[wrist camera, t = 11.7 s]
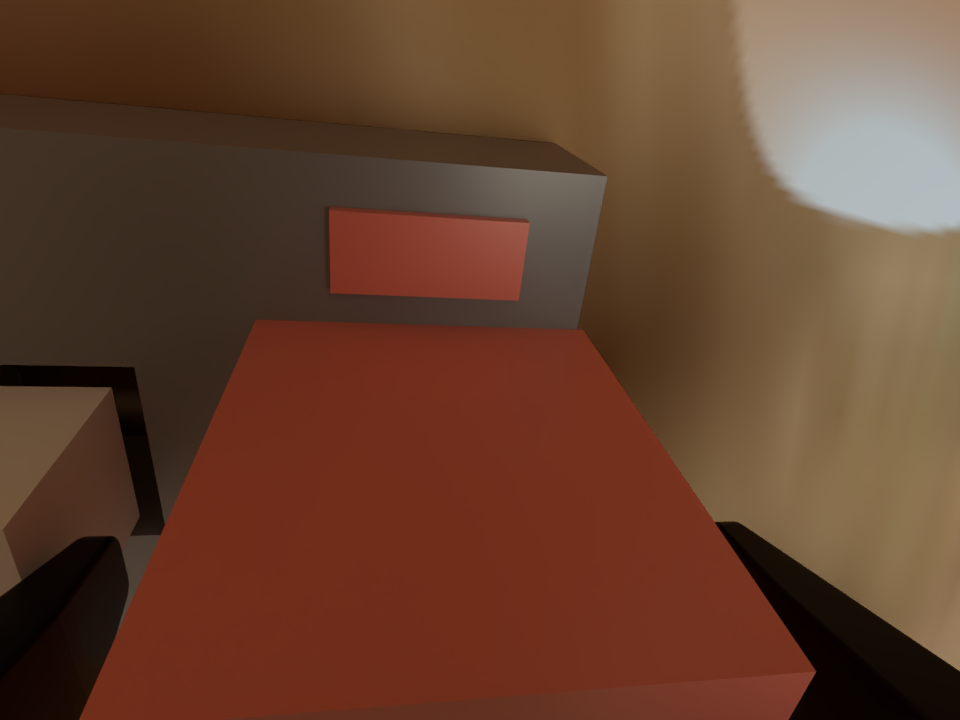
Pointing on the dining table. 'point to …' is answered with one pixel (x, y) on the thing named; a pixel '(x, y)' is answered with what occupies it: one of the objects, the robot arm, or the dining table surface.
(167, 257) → the breaker panel
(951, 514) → the dining table surface
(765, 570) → the robot arm
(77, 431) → the block
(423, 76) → the dining table surface
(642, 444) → the cap
